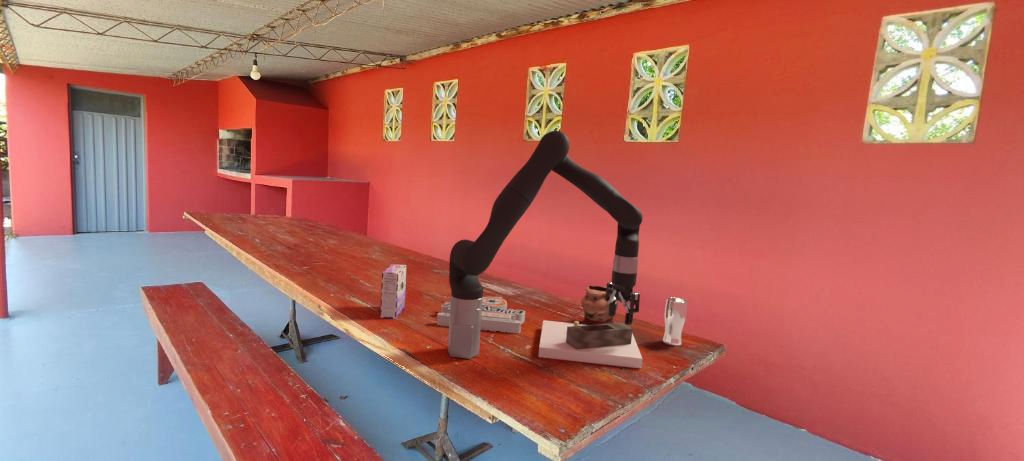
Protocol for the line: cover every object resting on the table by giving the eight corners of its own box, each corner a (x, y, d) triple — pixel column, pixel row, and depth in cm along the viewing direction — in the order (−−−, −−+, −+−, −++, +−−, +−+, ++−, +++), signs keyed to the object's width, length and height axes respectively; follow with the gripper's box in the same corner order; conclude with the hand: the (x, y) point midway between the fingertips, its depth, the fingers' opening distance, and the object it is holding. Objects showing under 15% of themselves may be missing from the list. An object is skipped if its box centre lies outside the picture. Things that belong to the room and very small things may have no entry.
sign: (433, 314, 167) (452, 292, 197) (432, 325, 168) (452, 302, 197) (522, 323, 164) (528, 299, 194) (521, 335, 165) (527, 309, 194)
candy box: (389, 306, 184) (391, 263, 182) (405, 307, 184) (407, 264, 182) (379, 318, 170) (381, 271, 168) (396, 319, 170) (398, 272, 168)
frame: (619, 337, 160) (621, 322, 159) (630, 344, 154) (632, 328, 154) (565, 342, 152) (567, 326, 151) (575, 349, 146) (577, 333, 145)
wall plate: (641, 368, 143) (643, 347, 142) (538, 356, 146) (540, 335, 145) (630, 337, 169) (632, 319, 168) (542, 328, 172) (544, 310, 171)
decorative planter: (593, 315, 192) (597, 280, 190) (623, 322, 186) (627, 286, 184) (571, 327, 175) (575, 289, 173) (604, 335, 169) (608, 296, 167)
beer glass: (657, 340, 168) (662, 298, 166) (668, 337, 172) (673, 295, 170) (675, 347, 163) (680, 303, 161) (686, 343, 167) (692, 300, 165)
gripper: (649, 274, 148) (643, 326, 150) (620, 264, 161) (616, 312, 163) (629, 275, 145) (623, 328, 147) (601, 264, 158) (597, 313, 160)
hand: (619, 319), depth 155 cm, fingers open, 8 cm apart
